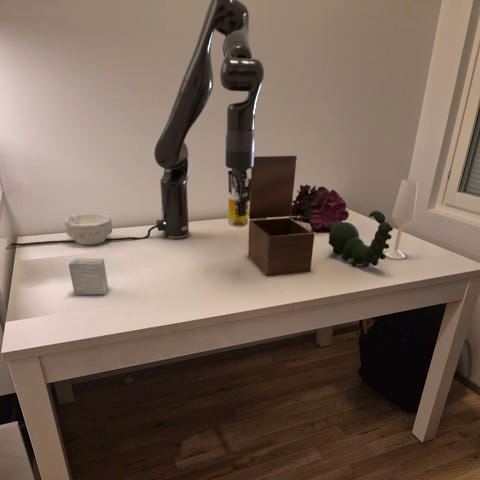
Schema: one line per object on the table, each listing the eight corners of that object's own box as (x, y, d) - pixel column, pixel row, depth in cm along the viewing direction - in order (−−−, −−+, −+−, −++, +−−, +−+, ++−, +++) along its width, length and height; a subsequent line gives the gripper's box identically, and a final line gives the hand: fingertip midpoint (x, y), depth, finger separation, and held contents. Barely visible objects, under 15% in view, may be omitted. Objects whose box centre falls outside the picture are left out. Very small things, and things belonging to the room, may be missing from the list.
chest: (310, 271, 127) (314, 233, 121) (266, 276, 123) (268, 236, 117) (287, 252, 141) (290, 217, 136) (248, 255, 137) (249, 220, 132)
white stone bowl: (116, 245, 144) (113, 222, 140) (69, 250, 139) (65, 226, 135) (111, 232, 156) (108, 211, 153) (67, 236, 151) (63, 214, 148)
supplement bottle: (233, 228, 116) (234, 190, 111) (225, 223, 120) (225, 186, 115) (251, 226, 118) (252, 189, 113) (242, 221, 122) (243, 185, 117)
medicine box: (108, 288, 113) (104, 257, 109) (104, 295, 109) (100, 264, 105) (79, 288, 113) (73, 257, 109) (74, 295, 109) (68, 264, 105)
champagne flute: (387, 250, 145) (401, 178, 133) (407, 254, 142) (423, 180, 130) (382, 256, 140) (396, 181, 128) (402, 260, 137) (419, 184, 125)
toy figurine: (387, 275, 129) (336, 244, 147) (404, 216, 119) (347, 190, 137) (364, 280, 125) (314, 248, 143) (380, 219, 115) (324, 193, 133)
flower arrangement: (280, 215, 183) (283, 179, 176) (319, 211, 190) (323, 177, 182) (317, 235, 158) (322, 195, 151) (361, 231, 164) (367, 192, 157)
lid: (297, 155, 125) (289, 152, 130) (252, 157, 122) (246, 153, 126) (290, 216, 135) (284, 211, 140) (249, 219, 131) (244, 213, 136)
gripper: (262, 151, 104) (259, 219, 112) (245, 144, 116) (243, 206, 124) (233, 152, 102) (232, 220, 110) (219, 144, 114) (218, 207, 122)
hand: (238, 212), depth 117 cm, fingers closed on supplement bottle, 5 cm apart
